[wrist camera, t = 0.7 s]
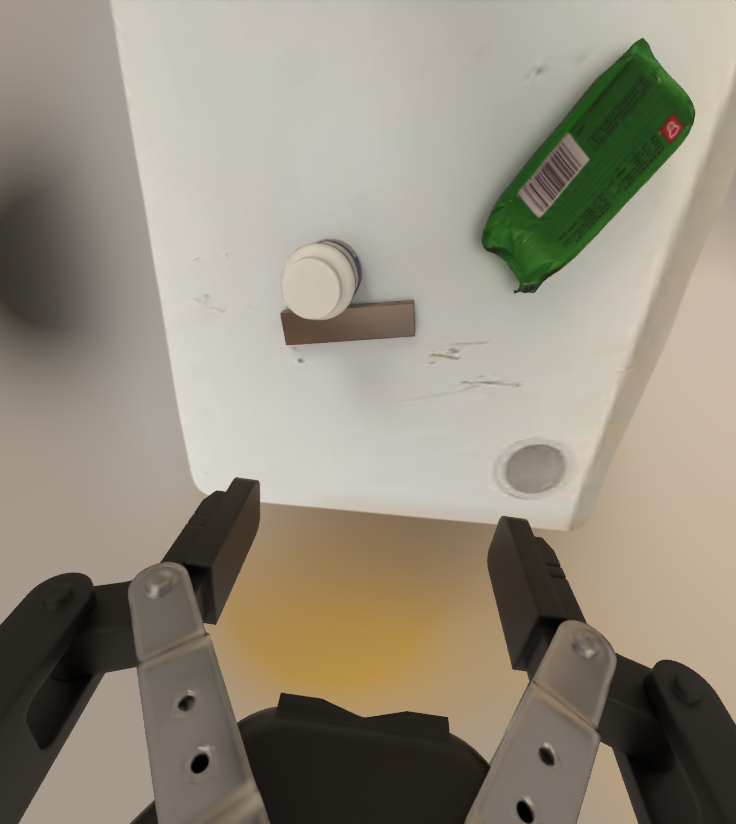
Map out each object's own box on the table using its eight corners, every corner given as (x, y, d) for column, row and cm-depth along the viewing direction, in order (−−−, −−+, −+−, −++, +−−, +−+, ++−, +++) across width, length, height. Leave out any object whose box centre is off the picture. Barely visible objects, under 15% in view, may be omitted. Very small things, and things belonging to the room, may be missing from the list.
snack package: (459, 238, 33) (468, 242, 29) (620, 39, 27) (666, 4, 22) (519, 292, 35) (537, 304, 30) (684, 117, 29) (739, 98, 24)
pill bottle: (313, 309, 37) (286, 338, 28) (293, 249, 34) (256, 260, 26) (370, 293, 36) (360, 318, 27) (352, 230, 33) (335, 235, 25)
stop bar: (283, 310, 37) (280, 313, 36) (413, 300, 36) (413, 302, 35) (289, 341, 38) (286, 345, 37) (414, 332, 37) (415, 336, 36)
